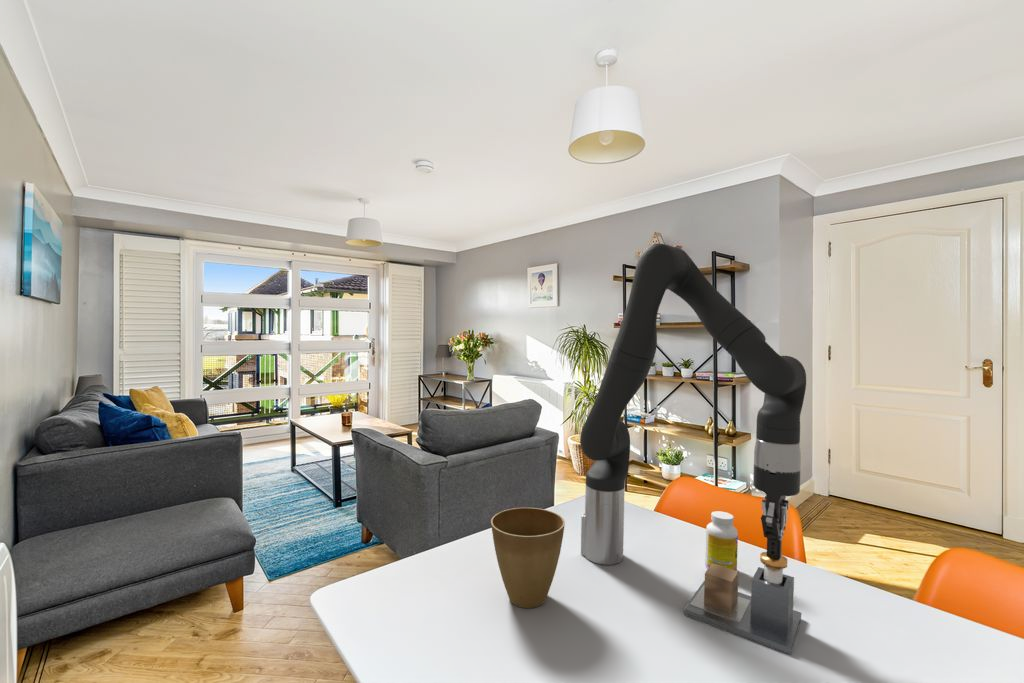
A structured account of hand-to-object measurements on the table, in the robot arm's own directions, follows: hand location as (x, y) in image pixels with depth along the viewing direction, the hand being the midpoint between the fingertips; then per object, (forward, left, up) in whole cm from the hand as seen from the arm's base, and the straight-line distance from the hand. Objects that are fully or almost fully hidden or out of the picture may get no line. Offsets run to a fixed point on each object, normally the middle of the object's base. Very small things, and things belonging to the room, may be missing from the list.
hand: (773, 557), depth 89 cm
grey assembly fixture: (-5, 0, -13) cm, 14 cm away
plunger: (0, 0, -11) cm, 11 cm away
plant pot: (-41, -21, -13) cm, 48 cm away
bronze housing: (-9, 0, -12) cm, 15 cm away
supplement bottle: (-13, +16, -13) cm, 25 cm away
